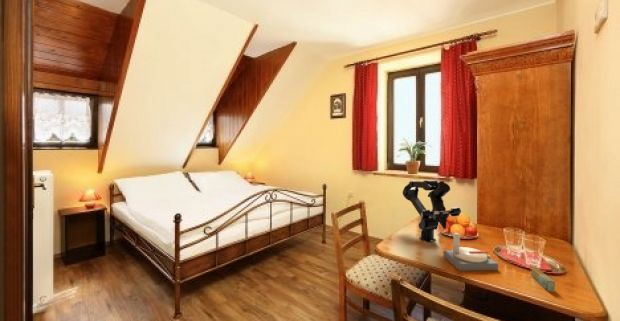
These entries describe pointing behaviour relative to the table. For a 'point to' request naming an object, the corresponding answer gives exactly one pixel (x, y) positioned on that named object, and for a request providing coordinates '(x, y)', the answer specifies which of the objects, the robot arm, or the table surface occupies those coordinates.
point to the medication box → (543, 280)
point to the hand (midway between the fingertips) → (444, 228)
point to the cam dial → (467, 252)
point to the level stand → (470, 263)
